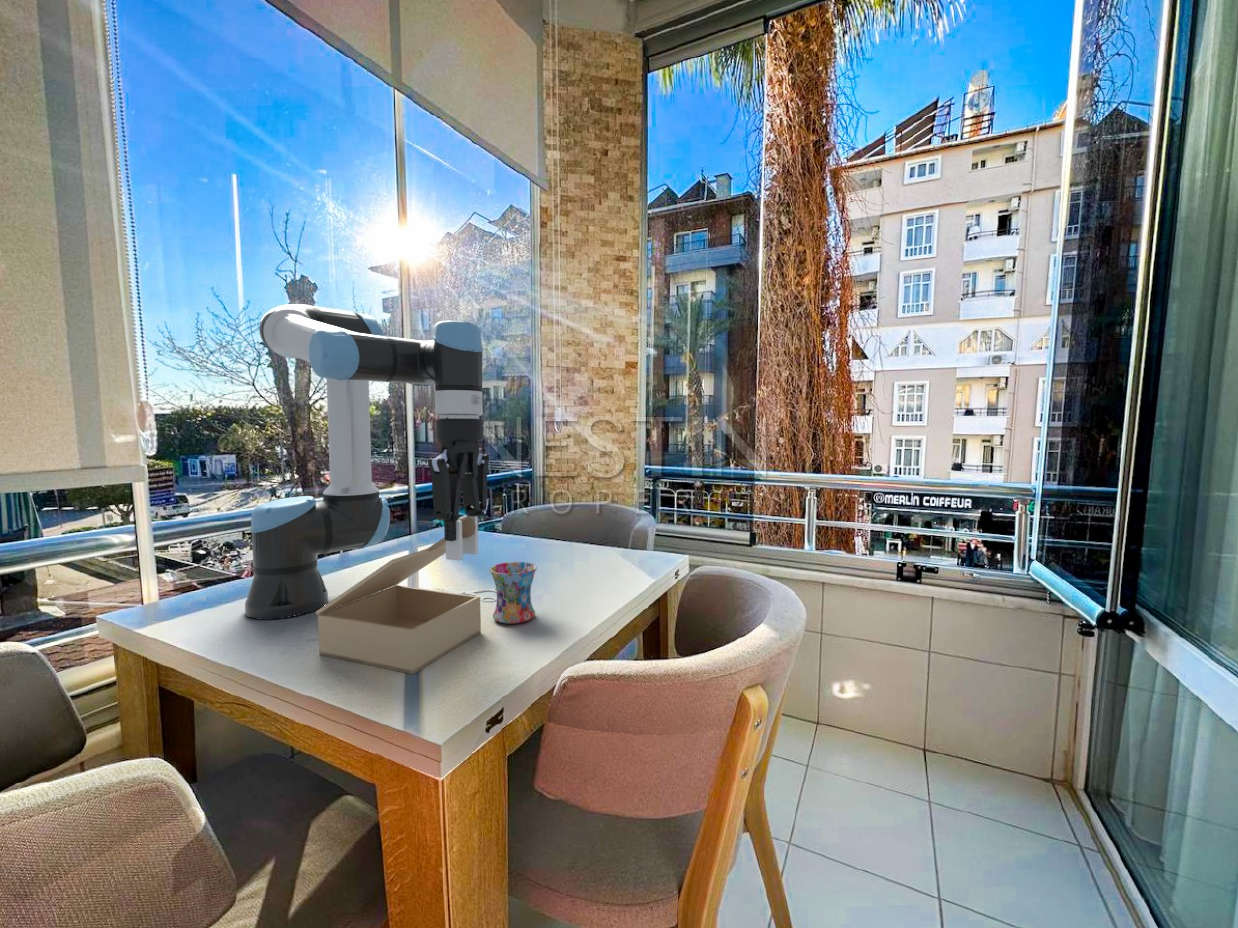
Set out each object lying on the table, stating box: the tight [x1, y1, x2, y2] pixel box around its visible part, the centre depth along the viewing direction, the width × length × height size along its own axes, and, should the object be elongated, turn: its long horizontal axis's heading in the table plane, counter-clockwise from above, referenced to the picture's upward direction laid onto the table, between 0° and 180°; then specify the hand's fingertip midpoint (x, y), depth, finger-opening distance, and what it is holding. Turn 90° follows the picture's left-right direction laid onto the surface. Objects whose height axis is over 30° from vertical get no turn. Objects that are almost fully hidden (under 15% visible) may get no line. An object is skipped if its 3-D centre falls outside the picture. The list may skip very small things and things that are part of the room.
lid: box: [314, 516, 476, 616], centre depth 94 cm, size 30×18×4 cm
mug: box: [489, 561, 538, 625], centre depth 109 cm, size 12×9×11 cm
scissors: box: [432, 587, 497, 603], centre depth 124 cm, size 11×1×20 cm
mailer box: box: [317, 584, 482, 675], centre depth 95 cm, size 20×18×7 cm
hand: (462, 556), depth 90 cm, fingers closed on lid, 4 cm apart
